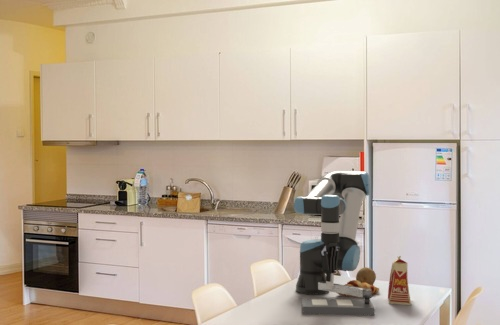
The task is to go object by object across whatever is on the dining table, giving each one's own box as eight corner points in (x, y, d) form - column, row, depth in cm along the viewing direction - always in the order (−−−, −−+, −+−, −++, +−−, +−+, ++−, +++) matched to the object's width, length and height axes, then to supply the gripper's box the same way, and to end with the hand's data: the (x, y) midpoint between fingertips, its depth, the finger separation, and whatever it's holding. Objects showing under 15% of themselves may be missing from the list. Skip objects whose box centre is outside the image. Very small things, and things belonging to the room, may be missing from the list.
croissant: (375, 299, 257) (371, 282, 260) (385, 293, 248) (381, 276, 251) (333, 301, 250) (329, 284, 254) (342, 296, 242) (338, 278, 245)
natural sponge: (364, 292, 255) (364, 270, 255) (351, 287, 263) (352, 266, 263) (379, 289, 260) (379, 268, 260) (366, 285, 268) (367, 264, 267)
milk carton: (411, 305, 235) (411, 257, 234) (388, 303, 236) (388, 256, 236) (409, 299, 244) (410, 253, 243) (387, 298, 245) (388, 252, 245)
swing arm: (321, 287, 241) (321, 281, 241) (373, 297, 226) (373, 289, 226) (317, 289, 238) (317, 282, 238) (369, 299, 223) (369, 291, 223)
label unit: (301, 305, 233) (301, 293, 233) (369, 306, 232) (369, 294, 232) (302, 314, 221) (302, 301, 221) (374, 315, 220) (374, 302, 220)
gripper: (330, 229, 241) (329, 284, 241) (314, 233, 230) (313, 290, 231) (345, 231, 236) (345, 287, 237) (330, 235, 226) (329, 293, 226)
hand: (329, 288), depth 234 cm, fingers closed
